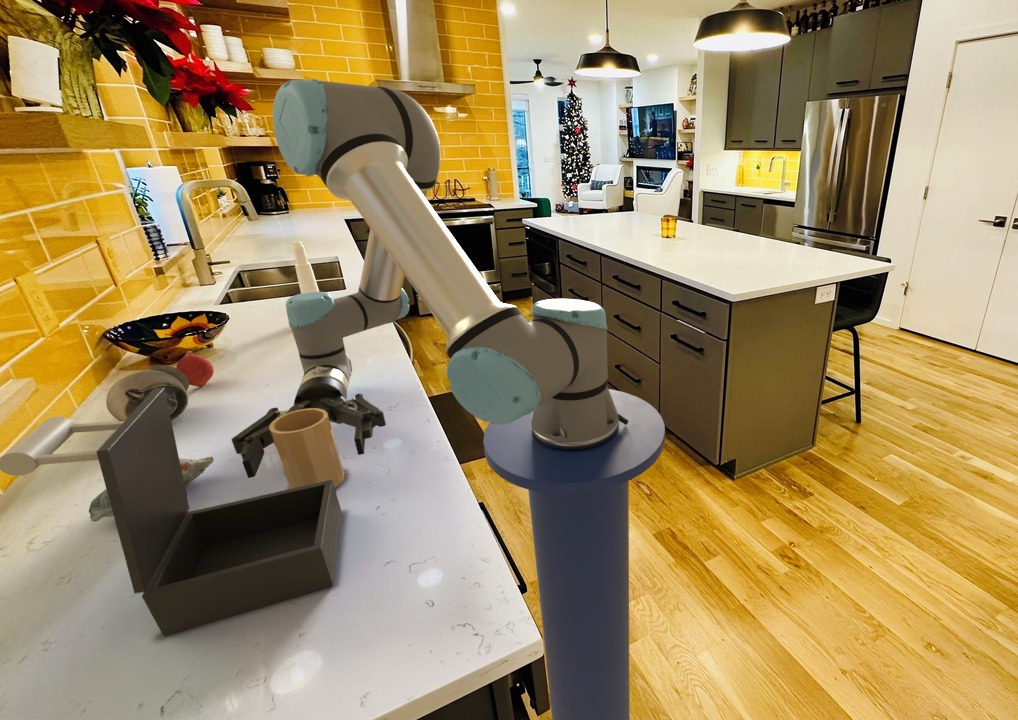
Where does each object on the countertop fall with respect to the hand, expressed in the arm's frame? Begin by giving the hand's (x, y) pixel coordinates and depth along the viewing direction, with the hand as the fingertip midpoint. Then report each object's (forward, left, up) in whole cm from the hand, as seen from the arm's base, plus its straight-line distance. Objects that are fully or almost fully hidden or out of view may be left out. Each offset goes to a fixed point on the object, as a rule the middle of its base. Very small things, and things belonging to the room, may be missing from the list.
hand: (305, 457), depth 72 cm
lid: (+10, +14, +8) cm, 19 cm away
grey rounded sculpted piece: (+28, -34, -6) cm, 45 cm away
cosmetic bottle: (+9, -89, -6) cm, 90 cm away
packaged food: (+20, -7, -6) cm, 22 cm away
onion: (+26, -49, -6) cm, 56 cm away
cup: (0, -2, -6) cm, 6 cm away
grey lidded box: (+4, +14, -6) cm, 16 cm away
